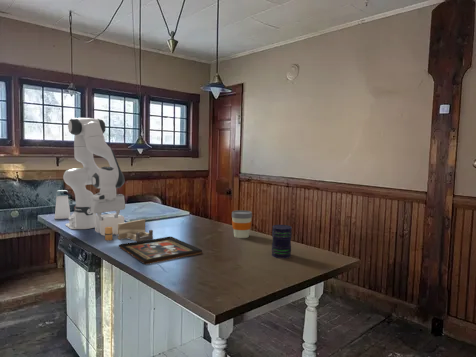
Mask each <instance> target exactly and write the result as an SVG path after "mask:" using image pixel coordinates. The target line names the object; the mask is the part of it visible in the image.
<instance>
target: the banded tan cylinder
mask: <svg viewBox="0 0 476 357" xmlns="http://www.w3.org/2000/svg"><path fill="white" fill-rule="evenodd" d="M113 235H114V234H113V233H112V227H105V236H104V240H105V241H112V240H113Z"/></svg>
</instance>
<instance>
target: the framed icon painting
mask: <svg viewBox="0 0 476 357" xmlns="http://www.w3.org/2000/svg"><path fill="white" fill-rule="evenodd" d="M119 247H120V249H121V250H123V251H124V252H126V253H127V254H129V255H131V256H132V257H133V258H135V259H137V260H138V261H139V262H140V263H143V265H150V263H151V264H156V263H161V262H166V261H171V260H176V259H180V258H186V257H189V256H191V257H192V256H197V255H201V254H203V250H202V249H201V248H199V247H196V246H194V245H192V244H190V243H187V242H185V241H183V240H180V239H178V238H175V237H173V236H166V237H165V236H163V237H160V238H158V237H157V238H153V239H149V240H144V241H138V242H136V241H132V242H127V243H126V242H125V243H120V244H118V248H119Z"/></svg>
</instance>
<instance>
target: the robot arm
mask: <svg viewBox="0 0 476 357" xmlns="http://www.w3.org/2000/svg"><path fill="white" fill-rule="evenodd" d="M67 129H68V132H69V133H70V134H71V135H73V136H74V140H73V149H74V150H73V152H74V153H73V154H74V159H75V160H76V161H77V162H79V163H81V164H82V166H83V167H78V168H74V167H73V168H70V169H67V170H65V171H64V172H63V181H64V183H65V184H66V185H67V186H69V187H70V188H71V189H72V190H73V193H74V197H75V206H74V211H73V213H71V214H70V215H71V216H70V218H68V222H67V223H65V226H66V227H67V228H69V229H71V230H88V229H93V228H94V229H95V217H96V216H97V215H98V217H99V220H100V221H102V220H103V217H101V215H102V213H109V212H115V213H116V214H115V215H114V218H118V215H120V211H122V210H125V209H126V202H125V201H126V200H125V195H124V194H122V193H119V194H118V193H117V189H120V188H122V186H123V185H124V184H125V182H126V180H125V175H124V173H123V172H122V170H121V167H120V165H119V162H118V158H116V154H115V152H114V150H113V148H112V147H111V146H109V145H108V144H107V142H106V139H105V135H104V134H105V133H106V123H105V121H104V120H102V119H100V118H92V117H78V118H77V117H73V118H72V117H71V118H70V119H69V120H68V123H67ZM94 155H96V156H98V157H101V158H104V159H105V160H106V161H107V162H108V165H109V166H101V167H99V166H98V165H97V163H96V162H95V159H94V158H95V157H94ZM87 185H92V186H93V187H94V188H95V189H99V192H97V193H95V194H94V193H93V192H92V191H91V190H89V189H87V188H86V186H87Z"/></svg>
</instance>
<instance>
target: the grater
mask: <svg viewBox="0 0 476 357" xmlns="http://www.w3.org/2000/svg"><path fill="white" fill-rule="evenodd" d="M57 192H67V193H68V192H69V191H68V190H66V189H64V190H63V189H61V190H60V189H59V190H57V191H56V194H55V196H56V199H55V209H54V211H55V212H54V220H59V219H62V220H63V219H69V218H70V216H71V215H72V214H71V209H70V208H71V207H70V202H69V195H68V194H67V195H58V194H57Z"/></svg>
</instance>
